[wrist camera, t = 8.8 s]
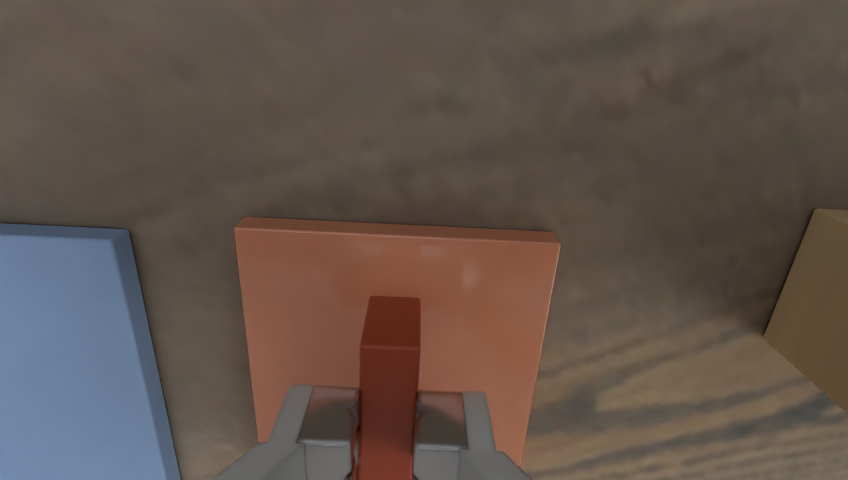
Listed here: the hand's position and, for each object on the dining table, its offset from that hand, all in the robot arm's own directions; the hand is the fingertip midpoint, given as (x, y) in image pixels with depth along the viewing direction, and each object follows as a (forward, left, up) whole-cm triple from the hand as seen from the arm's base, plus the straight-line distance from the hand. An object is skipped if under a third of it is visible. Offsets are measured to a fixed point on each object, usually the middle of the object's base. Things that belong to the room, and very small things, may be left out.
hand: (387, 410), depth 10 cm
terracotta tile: (0, +2, -3) cm, 4 cm away
